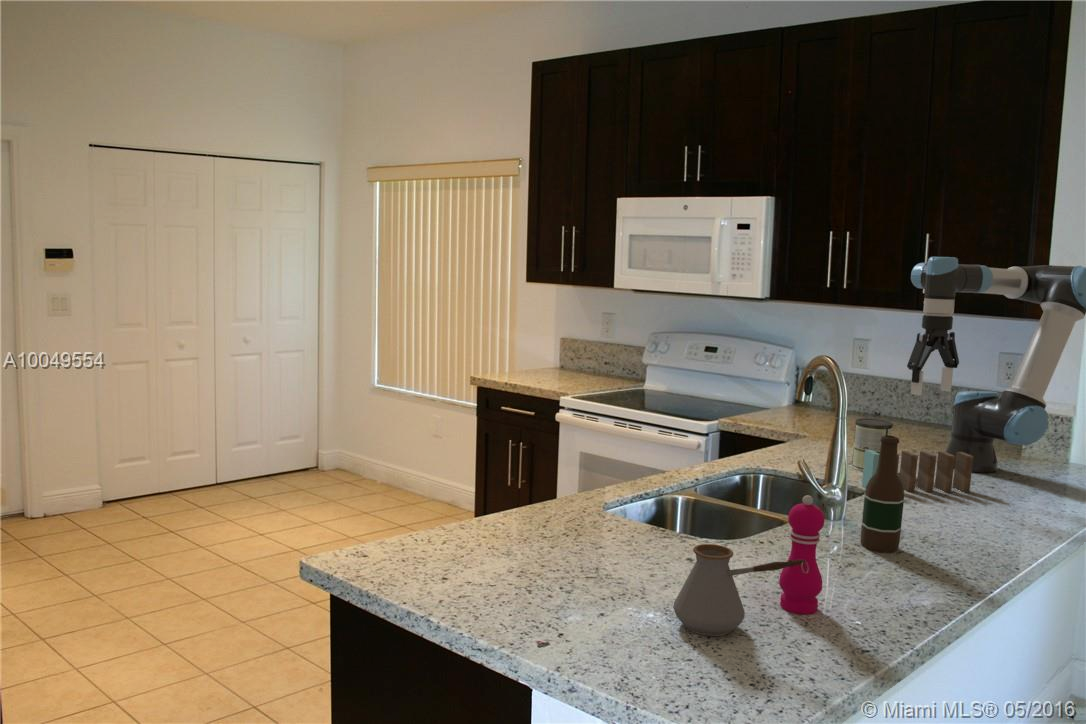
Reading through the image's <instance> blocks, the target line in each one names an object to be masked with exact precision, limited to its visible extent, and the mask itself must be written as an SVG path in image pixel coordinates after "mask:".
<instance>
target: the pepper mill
mask: <svg viewBox="0 0 1086 724" xmlns="http://www.w3.org/2000/svg"><path fill="white" fill-rule="evenodd" d="M787 520H788V521H787V523H788V524H789V526H790V527H791V529H790V530H789V534H790V535H789V539H790V540H791V549H790V553H789V556H788V559H787V560H786V562H788V561H789V560H792V561H796V560H805V561H806V562H807V563H808V566H809V571H808V573H804V572H807V569H808V568H807V564H806V563H805V564H803V570H804V572H803V571H802V568H801V565H794V566H793V567H792V568H790V567H789V566H788V567H785V568H782V569H781V571H780V575H779V579H778V583H779V587H780V589H781V590H782V591H783V592H782V593H781V595H780V601H779V605H780V607H781V608H782V609H784V610H785V611H787V612H790V613H793V614H798V615H811V614H815V613H817V611H818V606H819V599H818V598H817V596H819V594H821V592H822V591H823V578H822V575H821V574H822V573H821V571H820V568H819V566H818V562H817V557H816V556H817V545H818V544H819V543H820V542H821V540H820V537H821V534H820V531H822V529H823V528H824V526H825V515H824V512H823V511H822V509H821V508H820V507H818V506H816V505H815V504H814V498H813V497H812V496H811V495H809V494H808V495H804V496H803V497H802V502H801V503H798V504H796V505H794V506H793V507H792V508H790V511H789V512H788V516H787Z"/></svg>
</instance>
